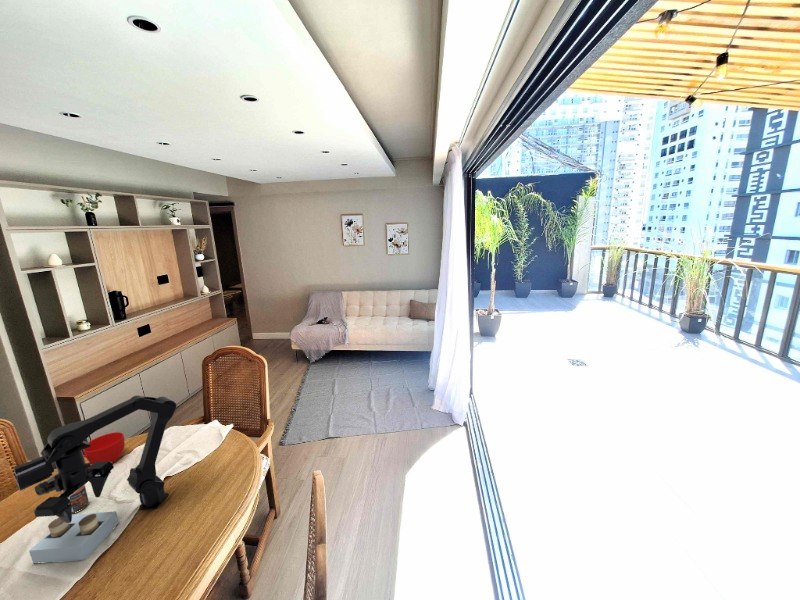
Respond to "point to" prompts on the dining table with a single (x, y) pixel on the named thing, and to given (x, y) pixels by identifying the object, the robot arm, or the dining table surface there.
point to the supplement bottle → (78, 499)
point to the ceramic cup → (105, 448)
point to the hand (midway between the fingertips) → (84, 509)
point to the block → (74, 540)
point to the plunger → (58, 528)
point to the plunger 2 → (88, 524)
